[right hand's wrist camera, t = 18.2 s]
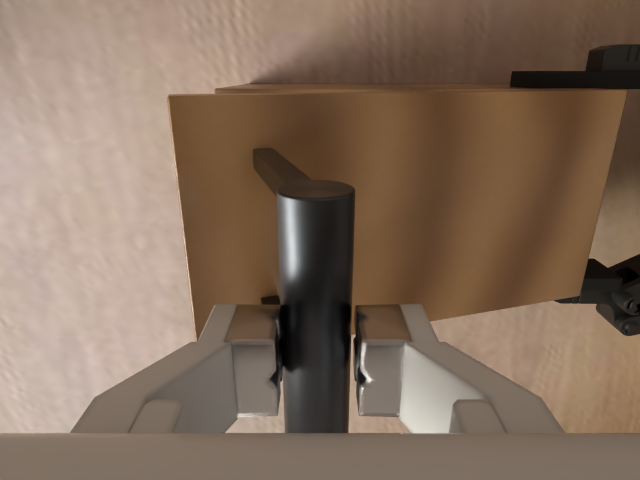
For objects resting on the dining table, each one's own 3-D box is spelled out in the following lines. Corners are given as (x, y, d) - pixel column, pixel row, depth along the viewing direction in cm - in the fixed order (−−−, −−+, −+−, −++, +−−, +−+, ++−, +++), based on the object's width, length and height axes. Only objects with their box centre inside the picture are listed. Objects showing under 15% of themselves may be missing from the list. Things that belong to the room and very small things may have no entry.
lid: (196, 344, 18) (210, 540, 10) (167, 94, 14) (156, 117, 7) (561, 286, 23) (749, 390, 15) (604, 88, 19) (873, 98, 12)
